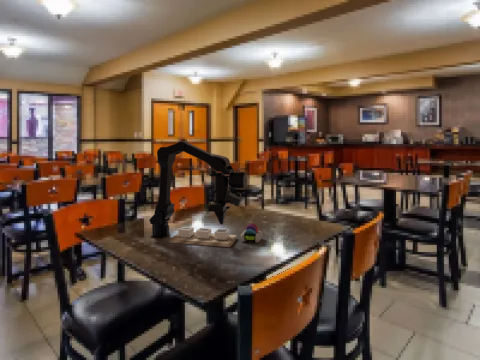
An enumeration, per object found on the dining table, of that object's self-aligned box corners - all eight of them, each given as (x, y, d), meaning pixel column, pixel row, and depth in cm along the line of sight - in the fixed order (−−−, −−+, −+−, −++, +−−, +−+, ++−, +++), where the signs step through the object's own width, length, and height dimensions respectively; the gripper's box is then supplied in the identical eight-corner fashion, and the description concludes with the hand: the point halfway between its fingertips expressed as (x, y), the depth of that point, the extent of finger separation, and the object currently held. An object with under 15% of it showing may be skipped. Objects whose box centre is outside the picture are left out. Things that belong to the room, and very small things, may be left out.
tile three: (214, 239, 144) (214, 231, 143) (217, 235, 148) (217, 228, 148) (226, 239, 143) (226, 232, 142) (229, 236, 147) (229, 229, 147)
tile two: (196, 237, 145) (196, 230, 145) (200, 234, 150) (200, 227, 150) (207, 238, 144) (207, 231, 144) (211, 235, 149) (211, 228, 149)
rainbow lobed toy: (263, 238, 151) (263, 222, 150) (258, 244, 142) (259, 227, 141) (245, 236, 154) (245, 220, 153) (239, 243, 144) (239, 226, 143)
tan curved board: (169, 242, 144) (169, 239, 144) (180, 234, 156) (180, 231, 156) (229, 247, 139) (229, 243, 139) (236, 238, 150) (236, 235, 150)
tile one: (178, 236, 147) (178, 229, 147) (182, 233, 152) (182, 226, 152) (189, 237, 146) (189, 230, 146) (193, 234, 151) (193, 227, 150)
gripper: (235, 191, 132) (235, 231, 134) (245, 184, 150) (245, 220, 152) (207, 190, 134) (207, 229, 136) (220, 184, 152) (220, 218, 154)
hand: (221, 224), depth 145 cm, fingers closed
